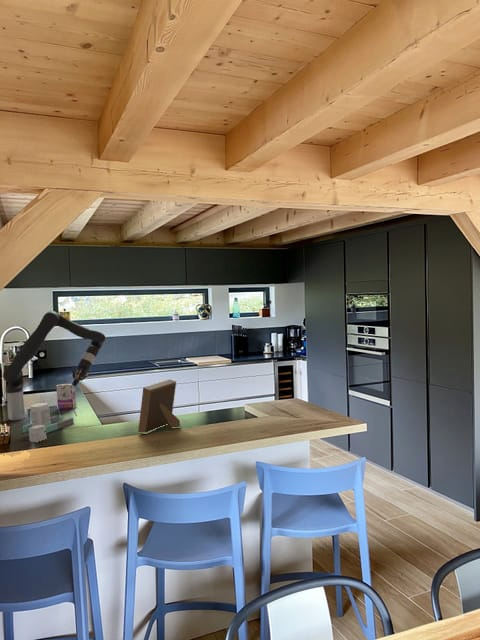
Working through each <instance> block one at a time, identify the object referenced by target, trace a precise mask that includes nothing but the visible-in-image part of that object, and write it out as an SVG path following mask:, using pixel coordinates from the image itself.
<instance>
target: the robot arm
mask: <svg viewBox="0 0 480 640" xmlns="http://www.w3.org/2000/svg"><path fill="white" fill-rule="evenodd" d="M55 326H56V327H59V328H62V329H64V330H67V332H70V333H71V334H73V335H74V336H76V337H79V338H82V339H84V340H90V341H91V342H90V344H89V346H88V347H87V349H86V351H85V352H84V354H83V355H82V357H81V359H80V361H79V362H78V365H77V366H78V367H77V368H76V369H75V370H72V372H71V373H72V379H73V381H72V383H71V384H72V385H73V386H75V387H77V385H78V384H79V382H80V381H84V380H85V379H87V377H89V376H90V374H89V373H88V372H89V371H90V370H91V368H92V366H93V364H94V363H95V360H96V358H97V355H98V354H99V351H100V349H101V348H102V347H103V344H104V343H105V341H106V336H105V334H104V333H103V332H101V331H98V330H93V329H90V328H88V327H85V326H83V325H81V324H79V323H77V322H74V321H72V320H69V318H66V317H64V316H63V315H61V314H59V313H58V312H57V311H55V310H49V311H48V312H46V313H45V314H43V316H42V318H41V320H40V323H39V324H38V326H37V327H36V328H35V330H34V331H33V332H32V333H31V334H30V336H28V337H27V339H26V341H25V342H24V343H23V345H22V346H21V348H19V349H20V350H19V351H18V352H17V354H16V356H15V357H14V358H13V360H12V361H11V363H9V365H8V366H7V367H6V368H4V369H5V370H3V373H2V378H3V380H4V381H5V382H7V386H6V397H7V399H6V400H7V405H6V406H7V415H8V416H7V417H8V420H9V421H20V420H23V419H25V418H26V409H25V398H24V390H23V389H24V373H23V368H25V366H26V365H27V363H29V362H30V361H31V360H32V359H33V358H34V357H35V356H36V354H37V353H38V352H39V350H40V349H41V347H42V346H43V344H44V342H45V341H46V338H47V336H48V335H49V333H50V332H51V331H52V329H53V328H54V327H55Z"/></svg>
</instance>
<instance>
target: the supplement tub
mask: <svg viewBox="0 0 480 640" xmlns="http://www.w3.org/2000/svg"><path fill="white" fill-rule="evenodd" d="M50 413H51V412H50V406H49V403H48V402H39V403H35V404H32V405H30V414H31V423H32V426H36V425H45V426H48V425H51V421H50V418H51V414H50Z"/></svg>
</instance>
